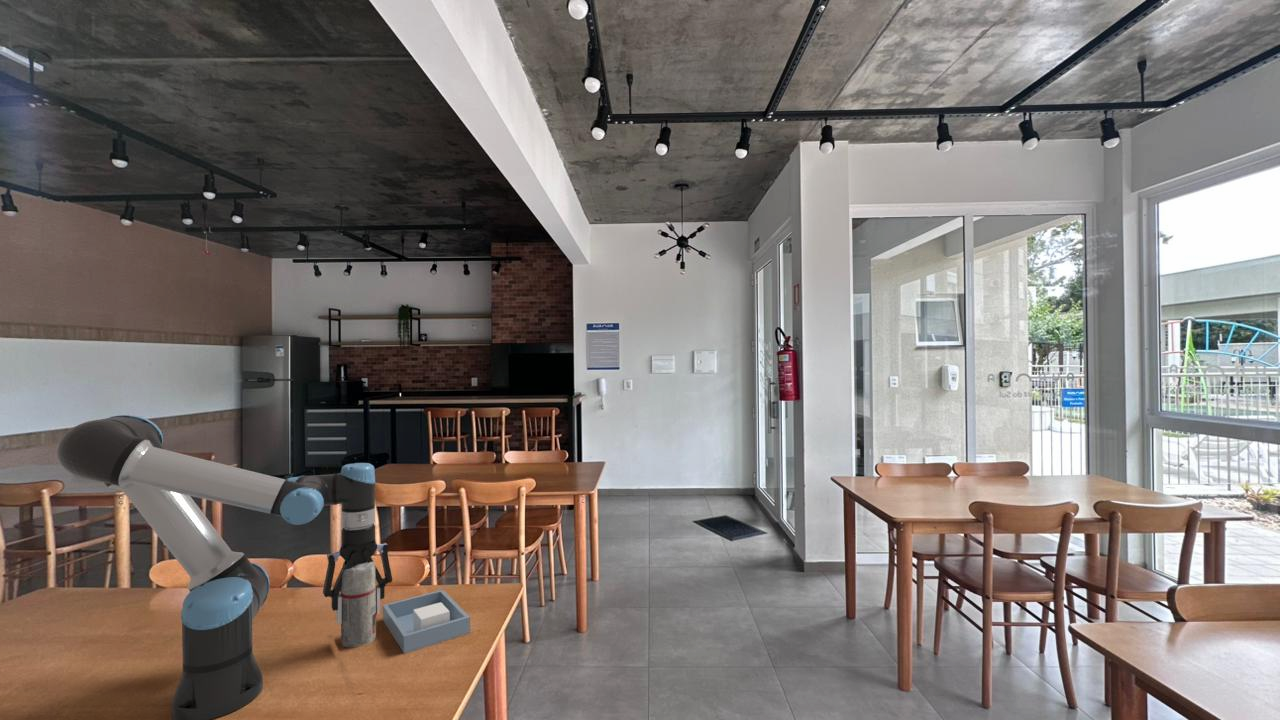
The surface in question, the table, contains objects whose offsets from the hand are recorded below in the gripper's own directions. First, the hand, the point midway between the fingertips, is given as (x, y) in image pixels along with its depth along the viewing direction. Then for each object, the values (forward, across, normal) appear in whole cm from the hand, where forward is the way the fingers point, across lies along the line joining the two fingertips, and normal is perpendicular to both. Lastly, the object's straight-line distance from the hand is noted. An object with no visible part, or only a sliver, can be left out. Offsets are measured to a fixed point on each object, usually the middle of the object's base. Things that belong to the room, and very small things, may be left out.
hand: (358, 617), depth 138 cm
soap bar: (+6, +15, -9) cm, 18 cm away
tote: (+7, +15, -3) cm, 17 cm away
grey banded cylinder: (+6, 0, 0) cm, 6 cm away
